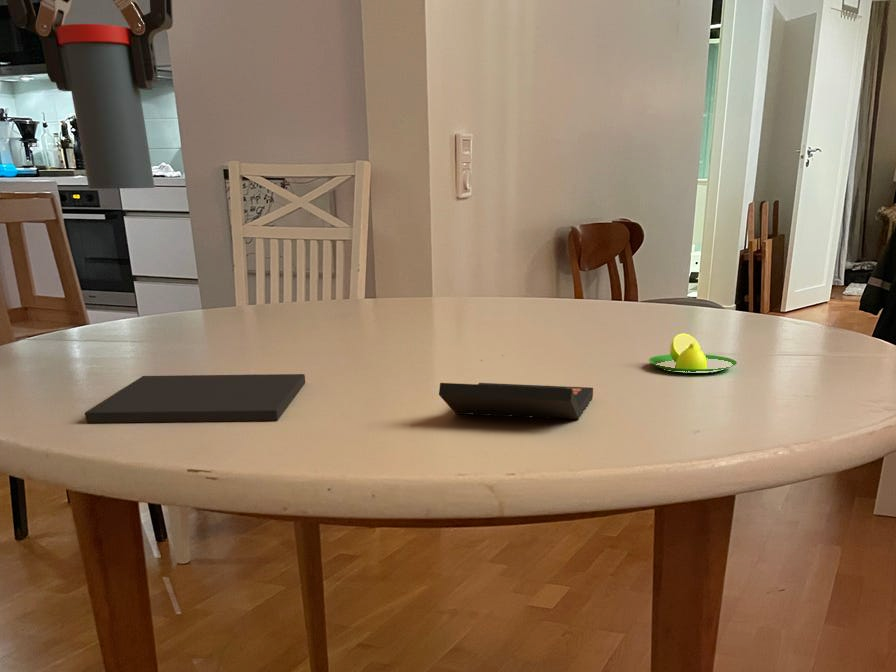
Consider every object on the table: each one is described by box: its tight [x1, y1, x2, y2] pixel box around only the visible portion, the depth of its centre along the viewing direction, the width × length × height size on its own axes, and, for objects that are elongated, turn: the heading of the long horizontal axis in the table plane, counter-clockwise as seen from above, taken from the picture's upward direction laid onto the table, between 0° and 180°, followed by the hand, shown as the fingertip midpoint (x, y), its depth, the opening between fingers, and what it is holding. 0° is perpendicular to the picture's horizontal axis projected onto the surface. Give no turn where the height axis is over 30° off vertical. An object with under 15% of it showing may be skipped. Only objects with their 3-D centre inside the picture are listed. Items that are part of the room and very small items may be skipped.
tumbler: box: [56, 23, 155, 190], centre depth 80 cm, size 6×6×12 cm
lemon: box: [648, 333, 738, 372], centre depth 84 cm, size 8×8×3 cm
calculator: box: [438, 382, 594, 420], centre depth 69 cm, size 9×12×3 cm
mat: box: [84, 373, 306, 424], centre depth 73 cm, size 14×14×1 cm
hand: (105, 89), depth 79 cm, fingers closed on tumbler, 6 cm apart
